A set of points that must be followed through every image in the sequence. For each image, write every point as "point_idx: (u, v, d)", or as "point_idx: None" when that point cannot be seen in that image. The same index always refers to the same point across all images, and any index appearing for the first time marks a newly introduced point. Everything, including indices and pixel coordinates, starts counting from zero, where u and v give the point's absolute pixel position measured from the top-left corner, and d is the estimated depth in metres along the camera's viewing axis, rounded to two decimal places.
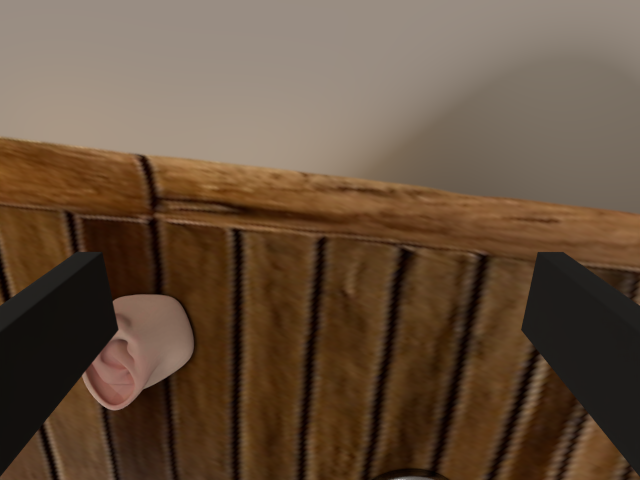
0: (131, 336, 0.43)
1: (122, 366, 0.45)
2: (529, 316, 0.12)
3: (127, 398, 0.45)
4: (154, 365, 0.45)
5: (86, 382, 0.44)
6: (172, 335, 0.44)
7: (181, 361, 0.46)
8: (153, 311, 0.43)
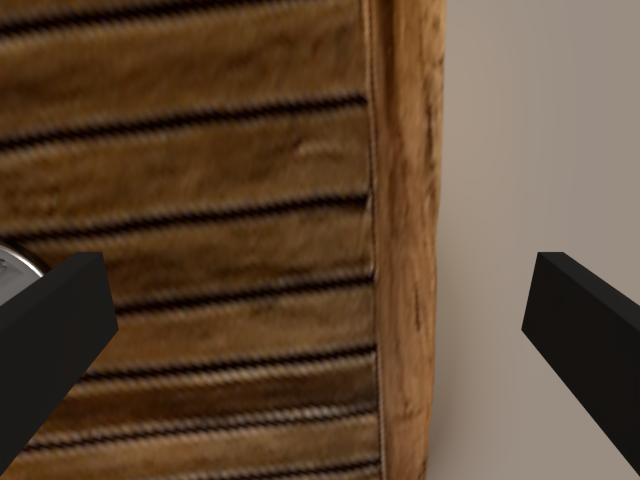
0: None
1: None
2: (529, 315, 0.12)
3: None
4: None
5: None
6: None
7: None
8: None
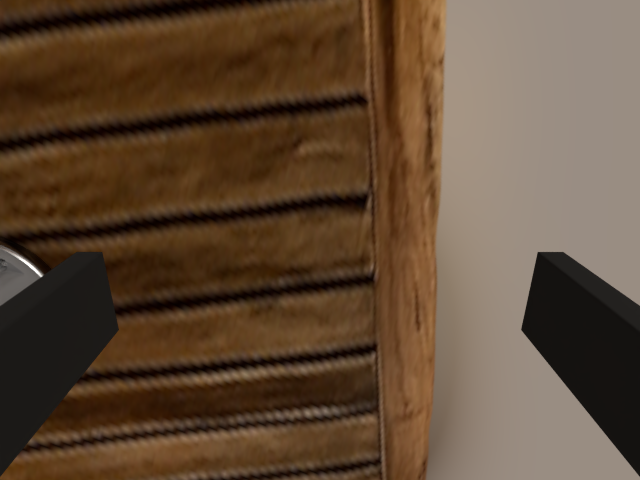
0: None
1: None
2: (529, 315, 0.12)
3: None
4: None
5: None
6: None
7: None
8: None
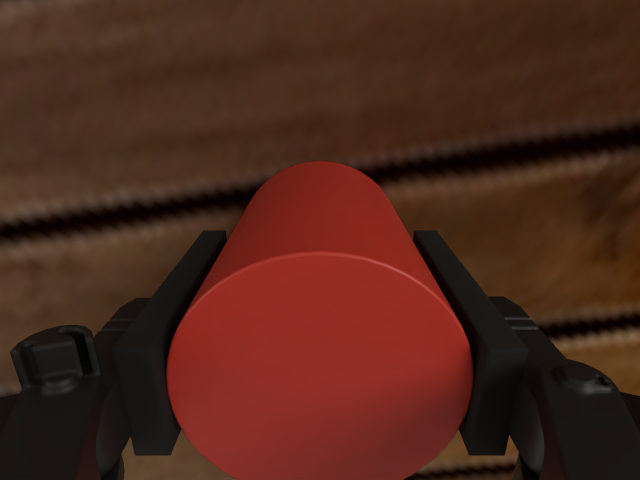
0: None
1: None
2: None
3: None
4: None
5: None
6: None
7: None
8: None
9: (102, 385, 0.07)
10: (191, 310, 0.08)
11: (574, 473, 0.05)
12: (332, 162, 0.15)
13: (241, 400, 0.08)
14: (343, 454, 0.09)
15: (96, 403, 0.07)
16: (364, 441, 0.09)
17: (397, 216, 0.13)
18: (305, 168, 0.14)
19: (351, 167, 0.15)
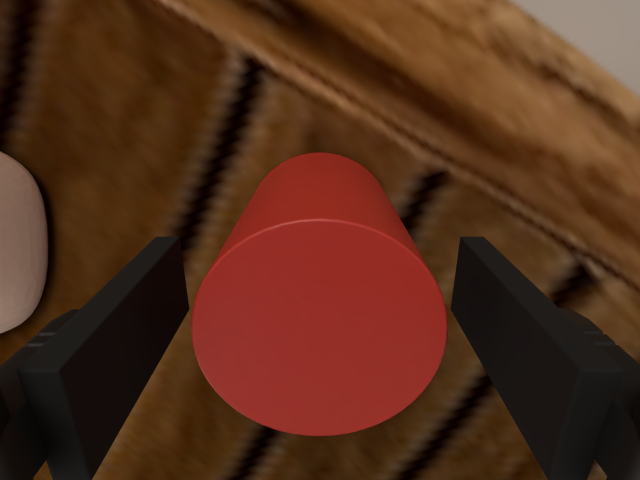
0: None
1: None
2: (455, 295, 0.14)
3: None
4: None
5: None
6: None
7: None
8: None
9: (3, 406, 0.07)
10: (213, 268, 0.09)
11: None
12: (330, 153, 0.17)
13: (253, 346, 0.10)
14: (339, 395, 0.11)
15: None
16: (356, 383, 0.11)
17: (388, 200, 0.15)
18: (306, 158, 0.16)
19: (348, 158, 0.17)
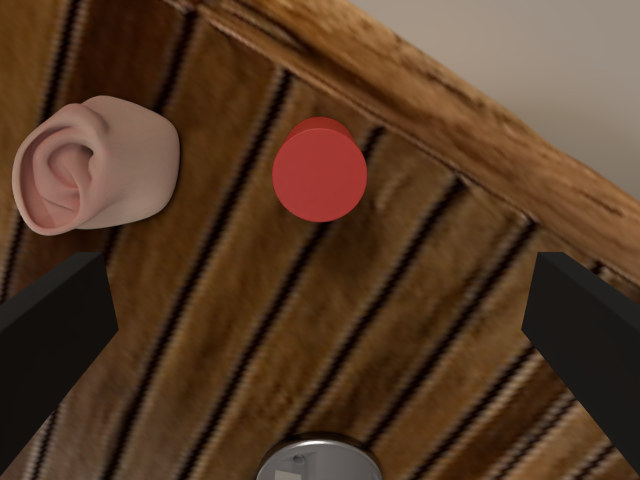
0: (103, 145, 0.32)
1: (71, 184, 0.34)
2: (529, 315, 0.12)
3: (61, 226, 0.34)
4: (113, 198, 0.34)
5: (15, 183, 0.33)
6: (152, 170, 0.34)
7: (147, 210, 0.36)
8: (143, 129, 0.33)
9: None
10: (282, 147, 0.26)
11: None
12: (325, 117, 0.34)
13: (295, 180, 0.27)
14: (327, 202, 0.28)
15: None
16: (334, 196, 0.28)
17: None
18: (313, 118, 0.33)
19: None
